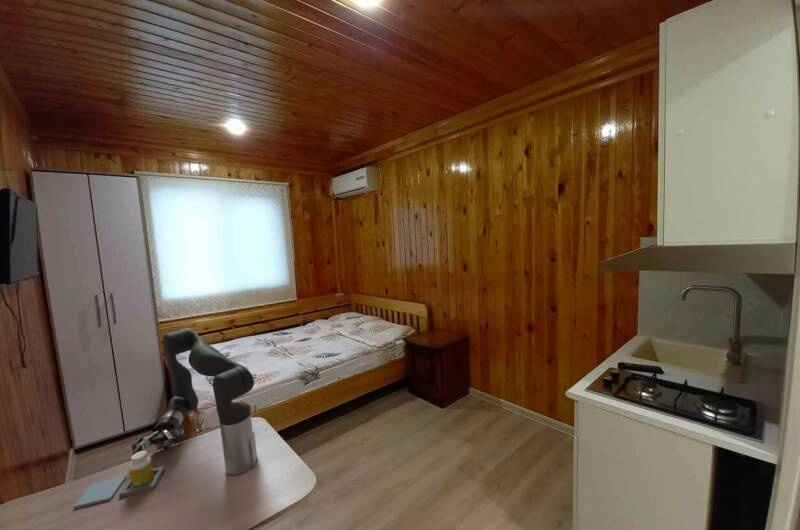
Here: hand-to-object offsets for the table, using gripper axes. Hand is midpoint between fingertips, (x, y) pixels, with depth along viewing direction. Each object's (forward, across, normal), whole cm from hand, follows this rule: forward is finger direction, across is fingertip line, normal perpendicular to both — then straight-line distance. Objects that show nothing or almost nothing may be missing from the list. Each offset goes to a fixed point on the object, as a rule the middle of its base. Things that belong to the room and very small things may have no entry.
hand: (150, 452), depth 109 cm
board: (+6, -11, +6) cm, 14 cm away
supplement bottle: (+6, 0, +6) cm, 9 cm away
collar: (+6, 0, +6) cm, 9 cm away
